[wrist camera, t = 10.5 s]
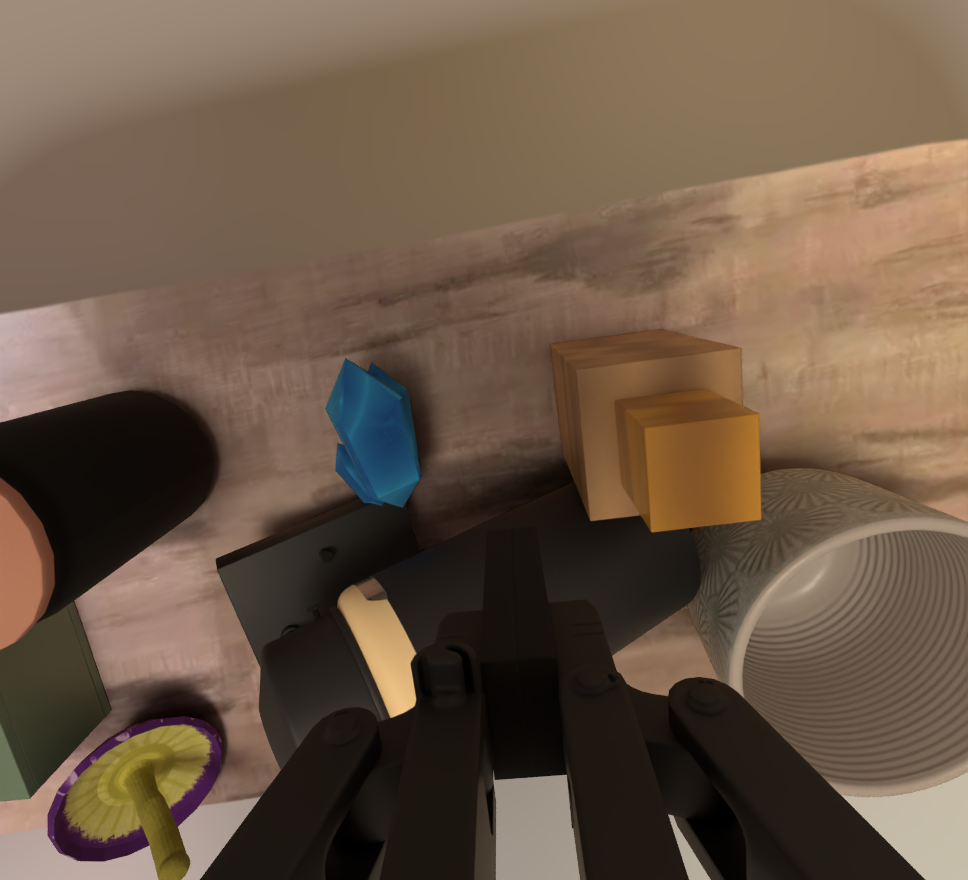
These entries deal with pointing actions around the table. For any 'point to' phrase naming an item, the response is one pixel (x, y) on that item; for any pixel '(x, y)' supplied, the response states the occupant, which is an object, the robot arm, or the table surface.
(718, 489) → the block
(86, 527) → the coffee jar
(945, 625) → the planter
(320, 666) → the light fixture
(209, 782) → the decorative mushroom
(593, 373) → the stand
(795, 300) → the table surface
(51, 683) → the cabinet
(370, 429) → the crystal
